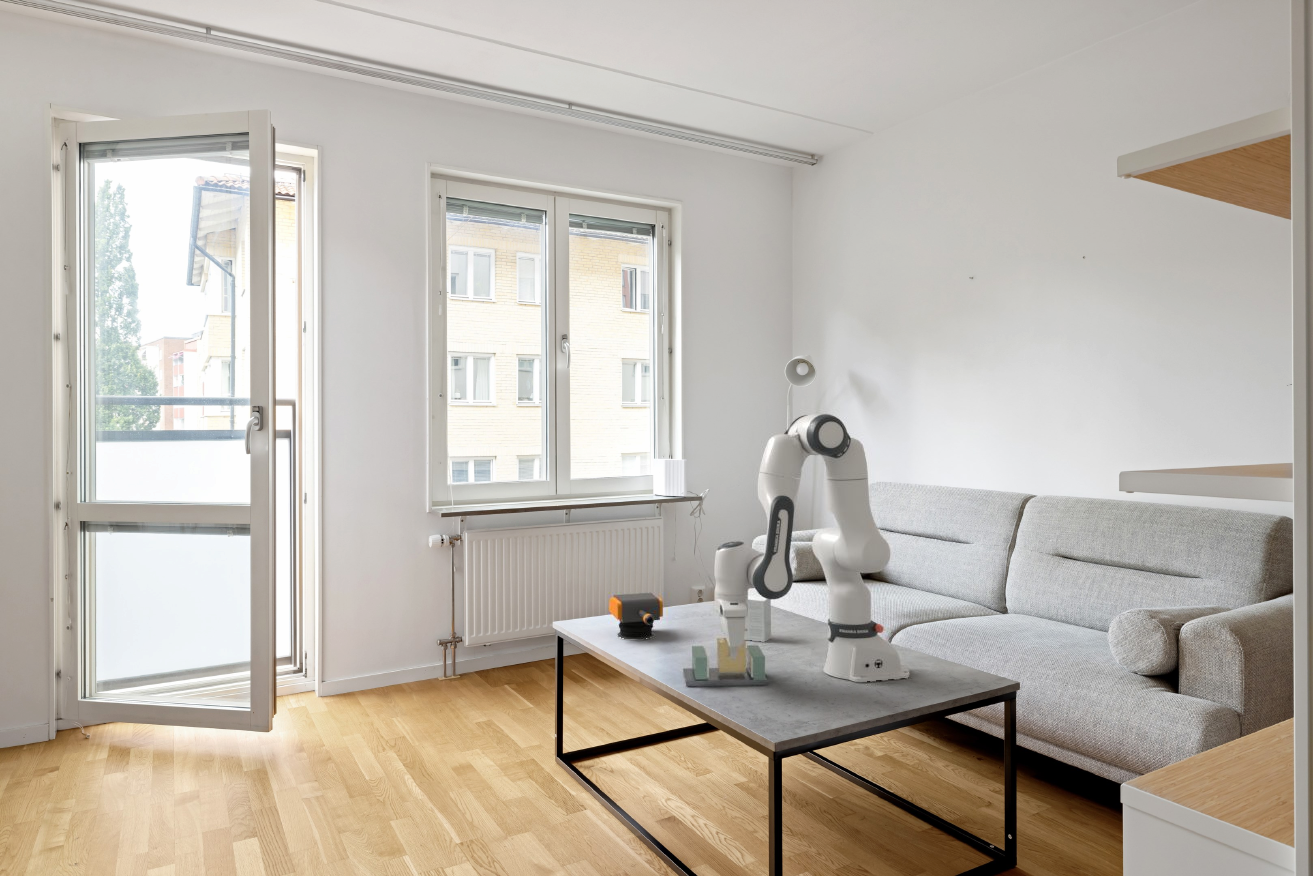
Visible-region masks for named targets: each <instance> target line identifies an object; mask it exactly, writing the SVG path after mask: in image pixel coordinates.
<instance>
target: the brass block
mask: <svg viewBox="0 0 1313 876" xmlns="http://www.w3.org/2000/svg"><path fill="white" fill-rule="evenodd" d="M716 640H717V641H716V642H717V643H716V644H717V648H716V649H717V652H716V653H717V654H716V655H717V658H716V659H717V664H716V665H717V668H718V671H719V673H744V672H746V648H747V642H746V640H744V644H743V646H742V647H738V650H737V659H730V656H729V655H730V654H729V651H730V646H729V644H728V642H727V640H726V638H725V637H717V639H716Z"/></svg>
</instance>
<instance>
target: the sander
mask: <svg viewBox="0 0 1313 876" xmlns="http://www.w3.org/2000/svg"><path fill="white" fill-rule="evenodd" d="M608 603H609V604H608V612H609V613H611V615H612V616H613V617H614V618H615V619H616V620H617V621H619V623H618V628H619V632H617V635H618V636H617V637H618V638H619V637H621V638H620V639H622V638H624V639H623V640H626V639H644V640H647V639H646V638H649V639H651V638H650V637H652V638H654V637H655V633H654V631H653V628H654V623H655V621H660V620H661V618H663V617H664V603H663V599H662V598H660V597H659V596H658V595H655V594H653V593H652V592H643V593H642V592H641V593H640V592H639V593H627V594H614V595H613V596H612V597H610V598H609V602H608ZM653 636H654V637H653Z"/></svg>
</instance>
